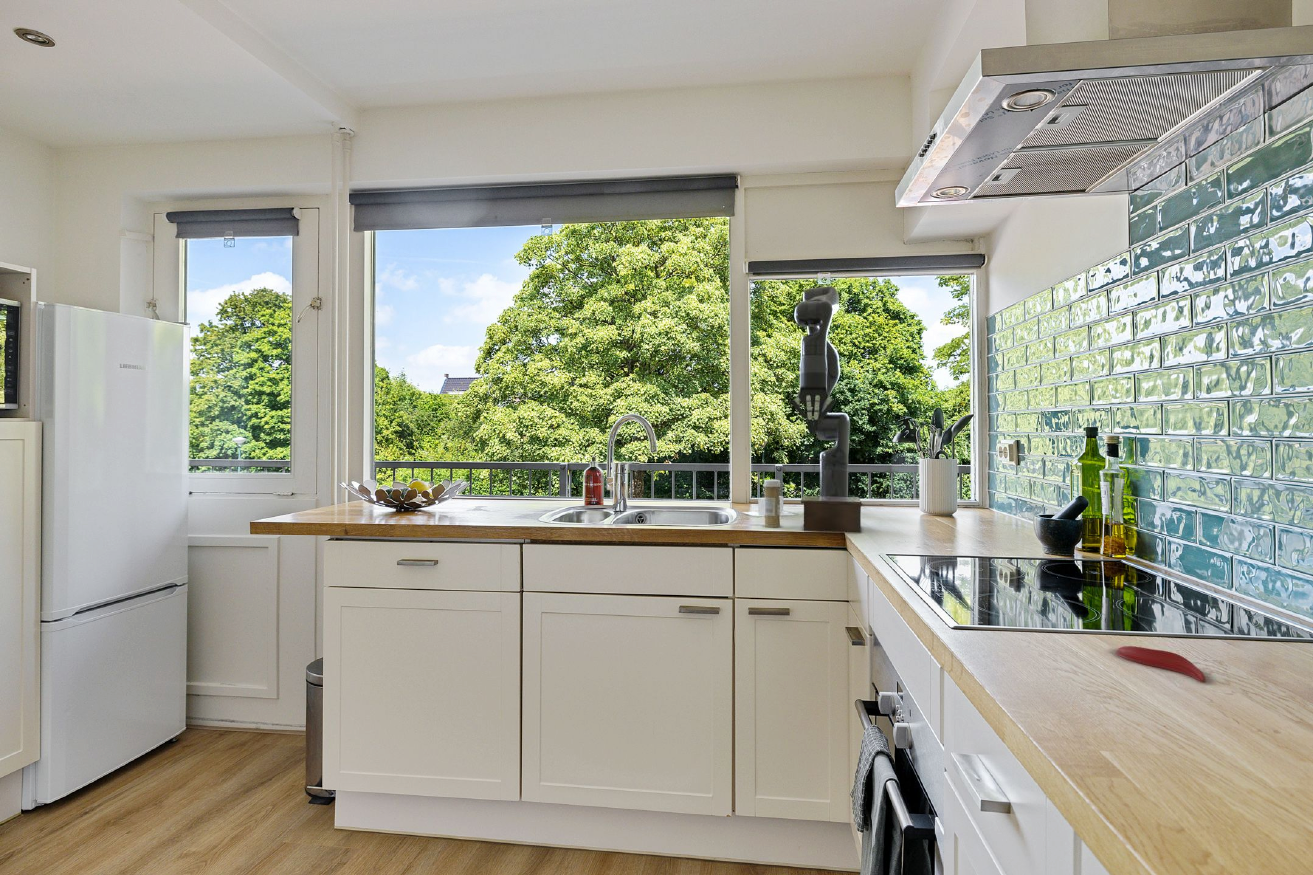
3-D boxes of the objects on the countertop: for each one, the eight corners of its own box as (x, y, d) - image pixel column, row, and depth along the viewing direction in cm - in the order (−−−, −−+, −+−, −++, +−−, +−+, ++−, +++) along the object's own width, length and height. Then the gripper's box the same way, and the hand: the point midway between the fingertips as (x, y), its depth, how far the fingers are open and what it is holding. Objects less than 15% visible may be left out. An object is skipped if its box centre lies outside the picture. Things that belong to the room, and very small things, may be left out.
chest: (803, 530, 205) (803, 503, 204) (805, 524, 217) (805, 498, 217) (860, 532, 201) (860, 504, 201) (858, 526, 214) (858, 500, 214)
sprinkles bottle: (783, 526, 212) (783, 480, 212) (771, 527, 210) (771, 480, 210) (772, 524, 216) (772, 478, 216) (760, 526, 214) (761, 479, 213)
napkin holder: (781, 510, 251) (781, 494, 251) (797, 514, 240) (797, 497, 240) (741, 512, 247) (741, 495, 246) (755, 516, 236) (755, 498, 236)
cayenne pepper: (1220, 681, 85) (1220, 665, 85) (1184, 683, 85) (1184, 666, 85) (1139, 649, 97) (1140, 635, 97) (1107, 651, 97) (1108, 636, 97)
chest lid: (800, 503, 205) (800, 500, 205) (802, 498, 217) (802, 495, 217) (860, 504, 201) (860, 501, 201) (858, 499, 214) (858, 497, 214)
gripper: (837, 372, 212) (836, 433, 212) (790, 373, 215) (790, 432, 215) (837, 370, 204) (837, 433, 205) (789, 371, 207) (788, 433, 208)
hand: (812, 433), depth 210 cm, fingers closed
